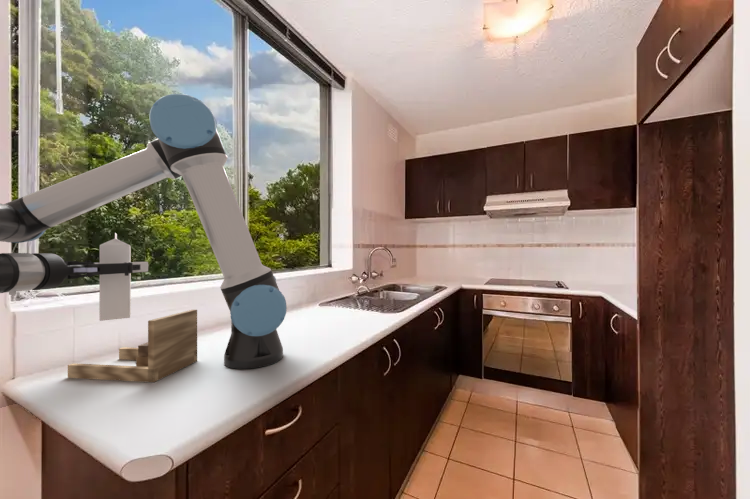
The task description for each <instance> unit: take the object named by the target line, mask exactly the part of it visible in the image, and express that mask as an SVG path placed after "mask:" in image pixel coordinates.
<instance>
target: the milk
mask: <svg viewBox="0 0 750 499" xmlns="http://www.w3.org/2000/svg"><path fill="white" fill-rule="evenodd" d="M131 247H132V246H131V245H130V244H128V243H126V242H125V241H122V240H120V239H118V234H117V233H116V232H114V238H112V239H110V240H108V241H106V242H103V243H101V244H99V263H100V264H110V263H124V262H132V261H131V260H132V259H131V256H132V253H131V249H132V248H131ZM131 274H132V273H129V276H125V273H120V274H103V275H99V299H98V300H99V308H98V310H99V319H98V320H99V322H102V321H111V320H120V319H121V320H122V319H130V318H131V314H132V313H131V310H132V308H131V307H132V302H131V301H132V299H131V298H132V296H131V295H132V286H131V280H132V275H131Z"/></svg>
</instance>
